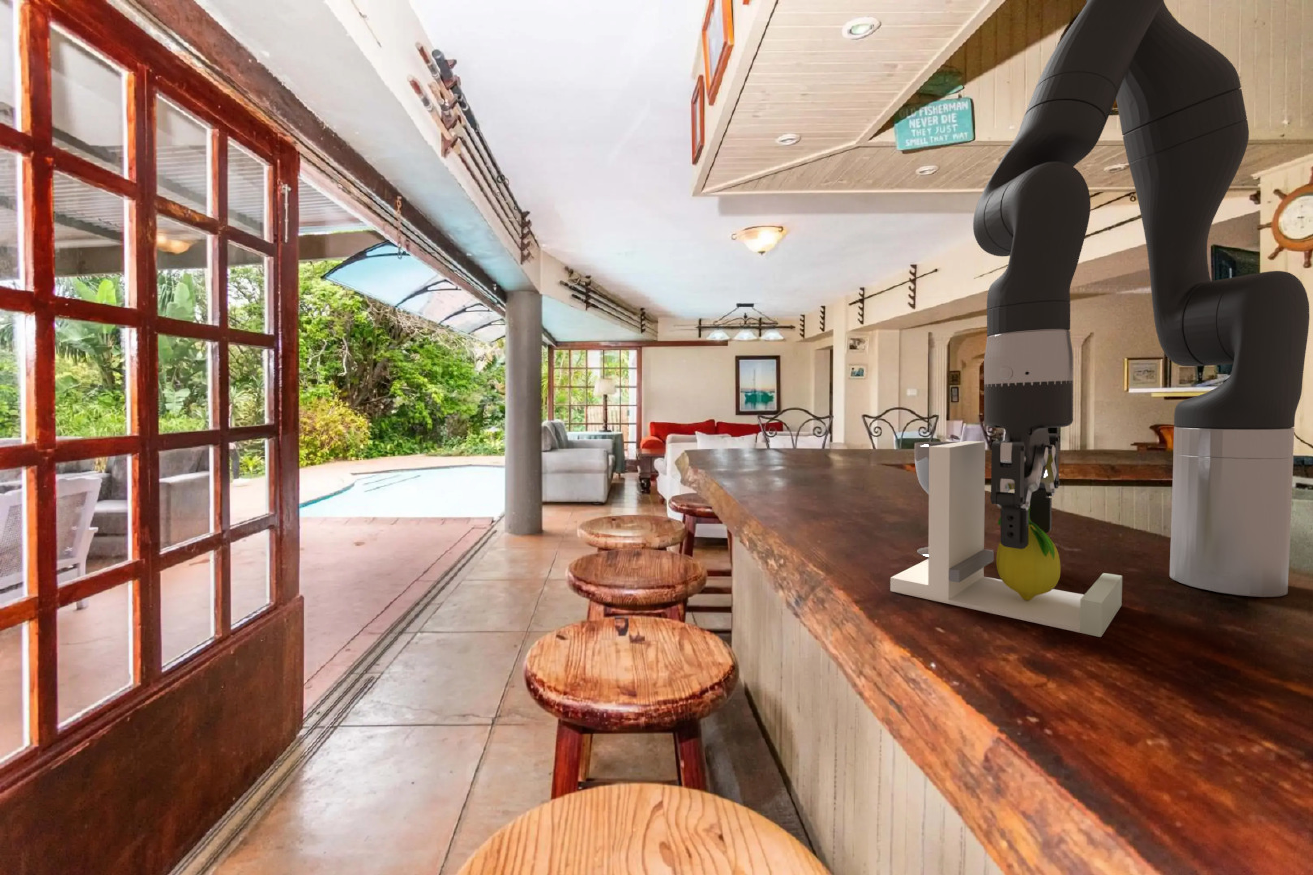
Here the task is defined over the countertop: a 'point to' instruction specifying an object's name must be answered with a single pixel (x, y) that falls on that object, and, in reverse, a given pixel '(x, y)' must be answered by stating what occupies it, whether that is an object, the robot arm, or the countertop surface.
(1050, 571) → the lemon
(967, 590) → the white lipped stand
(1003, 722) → the countertop surface
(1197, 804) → the countertop surface
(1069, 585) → the countertop surface
